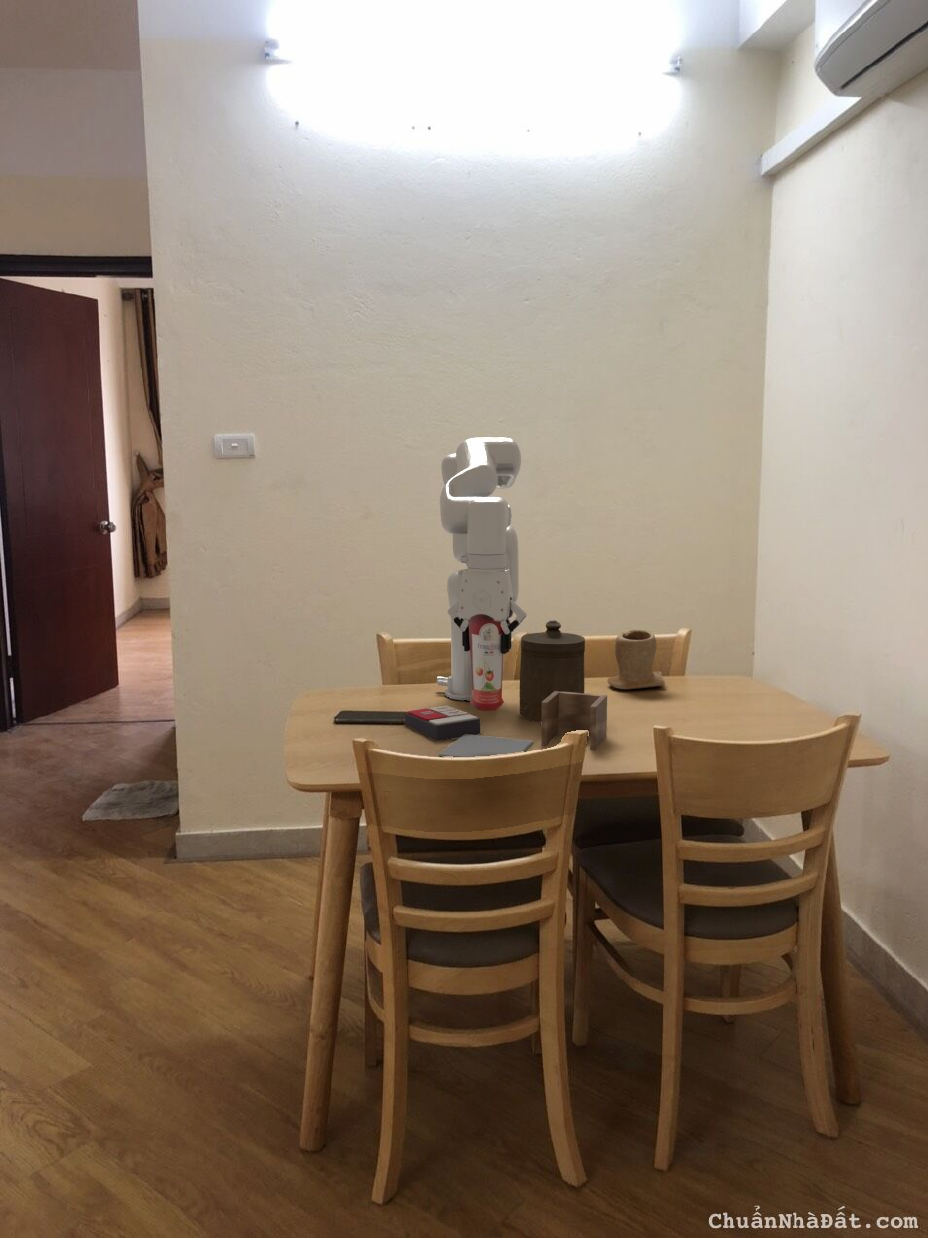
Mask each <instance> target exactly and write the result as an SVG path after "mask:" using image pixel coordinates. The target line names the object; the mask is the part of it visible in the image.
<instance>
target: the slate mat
mask: <svg viewBox="0 0 928 1238" xmlns="http://www.w3.org/2000/svg"><path fill="white" fill-rule="evenodd" d="M533 744H534V741H533V740H526V739H520V738H518V739H516V738H509V737H498V736H488V735H481V734H479V735H470V734H464V735H463V736H462V737H460V738H457V739H455V741H454V742H452V743H451V744H450V745H449V746H447V747H446V748H444V749H443V750H442V751H440V752H439V753H438V757H439V756H453V757H475V756H490V755H497V754H507V753H515V752H521V751H525V750H526V751H527V750H528V749H529V748H530V747H531V746H532V745H533ZM526 751H525V752H526Z"/></svg>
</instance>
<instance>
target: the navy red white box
mask: <svg viewBox="0 0 928 1238" xmlns="http://www.w3.org/2000/svg"><path fill="white" fill-rule="evenodd" d="M404 717H405V718H404V719H405V720H404V721H405V726H406V727H408V728H410V729H412V730H414V731H416V732H417V733H420V734H423V735H425V736H426V737H427V738H429V739H431V740H433V741H434V742H442V741H449V740H454V739H455V740H456V739H459V738H460V737H462V736H463V735H464V734H470V735H481V731H482V730H481V729H482V728H481V727H482V726H481V718H479V717H478V716H475V715H472V714H469V712H466V711H463V710H461V709H456V708H455V707H452V706H449V705H442V706H433V707H429V708H422V709H421V708H420V709H414V710H408V711H407V713H405V714H404Z"/></svg>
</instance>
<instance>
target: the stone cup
mask: <svg viewBox="0 0 928 1238" xmlns="http://www.w3.org/2000/svg"><path fill="white" fill-rule="evenodd" d="M614 646H615V647H614V653H615V659H616V662H617V666H618V675H614V676H611V677H608V678H607V680H606V681H607V683H608V685H610V686H611V687H613V688H616V689H619V690H637V689H647V688H654V687H656V688H657V687H663V686H665V685H666V680H665V679H664V677H663V673H662V672H661V671H659V670H658V671H657V670H656V671H652V670H653V669H652V668H653V664H654V659H655V656H656V653H657V640H656V636H655V634H654V633H653V632H651V631H650V630H646V629H631V630H628V631H625V632H621V633H619V634H618V635H617V637H616V638H615V644H614Z"/></svg>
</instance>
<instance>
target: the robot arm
mask: <svg viewBox="0 0 928 1238" xmlns="http://www.w3.org/2000/svg"><path fill="white" fill-rule="evenodd" d="M521 464H522V455H521V450H520V446H519V445H518V443H517V442H516V441H515V440H514V439H512V438H510V437H471V438H467V439H465V440H463V441H462V442H461V443H460V444H459V445H458V446H457V448H456V451H455V453H451V454H448V455H445V457H444V458H443V459H442V462H441V469H440V470H441V476H442V481H443V484H444V486H443V487H442V489H441V492H440V496H439V511H440V522H441V525H442V528H443V530H444V531H445V532H447V533H448V534H450V535H451V536H452V551H453V553H452V554H453V556H454V558H455V560H456V561H457V562H459V563H462V564H466V568H463V569H458V570H455V571H453V572H452V573H451V574H450V575H449V576H448V578H447V581H446V590H447V596H448V602H449V603H448V604H449V608H448V609H447V614H448V615H449V617H450V648H451V649H450V650H451V651H450V658H451V660H450V661H451V663H450V664H451V665H450V667H451V670H450V671H451V673H450V674H451V675H449V676H448V677H446V676H437V677H436V684H437V686H442V687H445V686H446V687H447V688H446V690H444V691H445V693H444V695H445V696H446V697H447V698H448V697H449V699H451V700H455V701H456V700H457V701H464V700H467V701H469V702H470V701H471V699H472V677H471V658H470V644H469V624H468V620H470V617H472V616H474V615H477V614H485V615H488V616H490V617H492V618H493V619H494V621H496V622H501V627H502V629H503V634H502V635H501V653H502V654H503V655H505V654H507V653H509V652H510V650H512V633H513V632H514V630H516V629H517V627H519V626H520V625H521V624H522V622H523V621H524V620H525V619H526V617H527V616H528V615H527V613H526V612H525V611H524V610H523V609H522V608H521V606H519V605H518V604H517V601H518V598H519V586H520V585H519V541H518V535H517V532H516V530H515V528H514V527H513V526H511V523H512V508H511V505H510V504H509V503H508V501H507V500H506V499H505V498H502V497H500V496H491V495H492V494H493V493H494V492H495V491H496V490H497V489H499V490H500V489H503V490H504V489H509V488H511V487H513V486H514V483H515V482H516V479H517V477H518V474H519V473H520V470H521ZM513 614H515V615H516V617H515V618H514V620H512V622H511V620H510V619H511V618H512V617H513Z"/></svg>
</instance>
